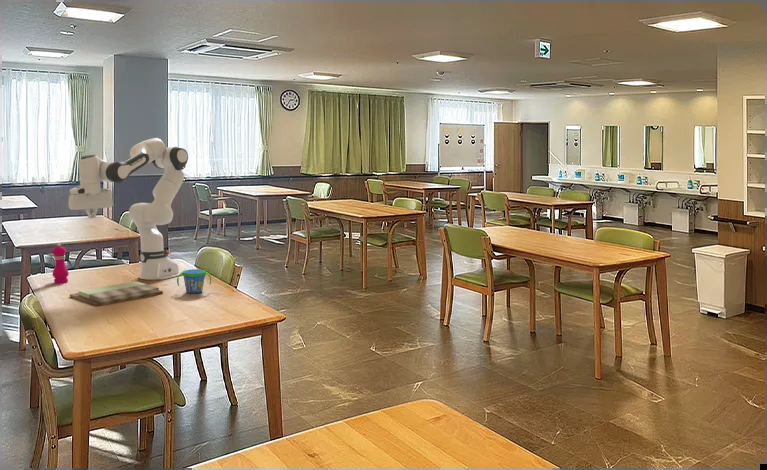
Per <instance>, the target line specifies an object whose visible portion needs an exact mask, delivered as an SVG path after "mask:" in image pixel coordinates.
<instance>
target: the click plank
mask: <svg viewBox="0 0 767 470" xmlns="http://www.w3.org/2000/svg"><path fill="white" fill-rule="evenodd" d="M142 285H148V284H146V283H144V282H140V281H136V280H134V281H130V282H128V281H127V282H124V283H117V284H116V283H115V284H109V285H106V286H100V287H99V286H98V287H93V288H88V289H87V288H86V289H81V290H78V292H77V293H79V295H80V296H83V297H86V298H89V294H95V293H101V292H107V291H113V290H118V289H124V288H130V287H136V286H142Z"/></svg>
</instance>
